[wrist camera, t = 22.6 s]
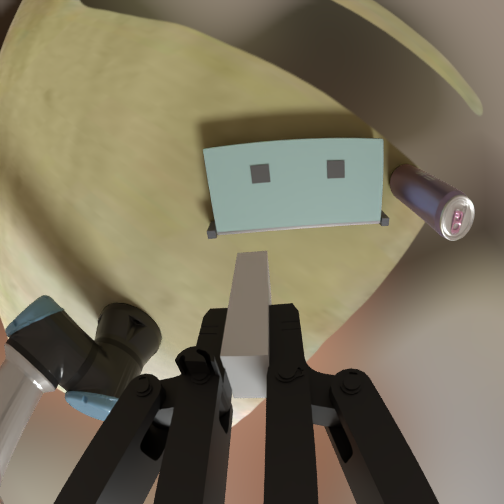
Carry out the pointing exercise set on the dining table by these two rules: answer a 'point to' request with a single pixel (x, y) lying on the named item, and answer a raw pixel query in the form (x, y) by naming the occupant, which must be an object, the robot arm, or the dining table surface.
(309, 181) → the cover
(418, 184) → the beverage can
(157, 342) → the robot arm
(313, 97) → the dining table surface
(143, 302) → the dining table surface
